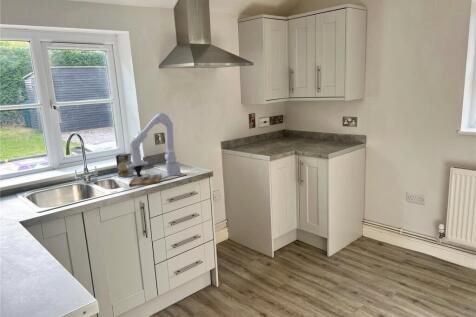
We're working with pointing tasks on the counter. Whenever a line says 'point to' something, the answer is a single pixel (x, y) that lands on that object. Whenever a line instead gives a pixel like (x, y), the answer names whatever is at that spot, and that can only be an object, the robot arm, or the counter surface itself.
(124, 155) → the coffee box
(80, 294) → the counter surface
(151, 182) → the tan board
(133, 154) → the robot arm
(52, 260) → the counter surface
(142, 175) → the lock bar
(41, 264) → the counter surface
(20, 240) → the counter surface
